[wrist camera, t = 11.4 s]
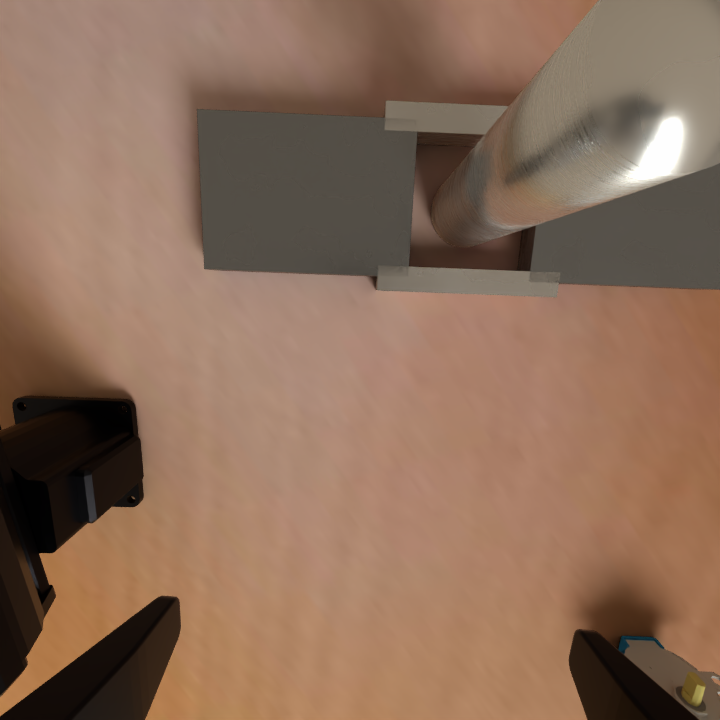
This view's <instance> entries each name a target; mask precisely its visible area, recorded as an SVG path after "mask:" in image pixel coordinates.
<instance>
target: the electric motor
mask: <svg viewBox="0 0 720 720" xmlns="http://www.w3.org/2000/svg"><path fill="white" fill-rule="evenodd" d="M618 650H619V651H620V652H621V653H623V654H624V655H625V656H626V657H627V658H628V659H630V660H631V661H632V662H633V663H634V664H635V665H636V666H638V667H639V668H640V669H641V670H642V671H643V672H645V673H646V674H647V675H648V676H649V677H650V678H652V679H653V680H654V681H655V682H656V683H657V684H659V685H660V686H661V687H662V688H663V689H664V690H665V691H667V692H668V693H669V694H670V695H671V696H672V697H674V698H675V699H676V700H677V701H678V702H679V703H681V704H682V705H683V706H684V707H685V708H686V709H688V710H689V711H690V712H691V713H692V714H693V715H694V716H696V717H697V718H698V719H699V720H720V696H719V695H718V694H720V686H719V685H718V684H716V683H714V681H713V680H712V678H716V679H718V680H720V676H719V675H717V674H716V673H714V672H700V671H698V670H697V669H696V668H695V667H693V666H692V665H691V664H689V663H688V662H687V661H685V660H684V659H683V658H681V657H679V656H678V655H676V654H674V653H671V652H670V651H668V650H665V649H664V647H663V646H662V645H661V644H660V642H659V641H658V640H657V639H656V638H653V637H641V636H622V637H621V640H620V644H619V648H618Z"/></svg>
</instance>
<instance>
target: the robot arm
mask: <svg viewBox="0 0 720 720" xmlns="http://www.w3.org/2000/svg"><path fill="white" fill-rule="evenodd" d="M24 404H26V407H25V406H24ZM122 406H125V407H126V408H127V412H126V411H124V410H123V408H122ZM13 412H14V418H15V424H16V425H14V426H11V427H9V428H6V429H4V430H1V426H0V430H1V431H0V697H1V696H2V695H3V694H4V693H5V692H6V690H7V689H8V688H9V687H10V686H11V685H12V684H13V683H14V682H15V680H16V679H17V678H18V677H19V676H20V675H21V673H22V672H23V671H24V670H25V668H26V666H27V664H28V661H27V658H26V656H27V655H28V653H29V652H30V650H31V648H32V647H33V645H34V643H35V641H36V640H37V638H38V636H39V634H40V633H41V631H42V628H43V620H44V617H45V615H46V614H47V612H48V610H49V608H50V606H51V605H52V603H53V601H54V599H55V598H56V594H55V591H54V588H53V586H52V585H49V583H48V580H47V577H46V574H45V571H44V568H43V565H42V562H41V558H40V555H39V553H54V552H55V551H56V550H57V549H59V548H60V547H61V546H62V545H63V544H64V543H65V542H66V541H68V540H69V539H70V538H71V537H72V536H73V535H74V534H76V533H77V532H78V531H79V530H80V529H81V528H82V527H83V526H85V525H86V524H87V523H94V522H95V521H96V520H97V519H98V518H100V517H101V516H102V515H103V514H104V513H105V512H106V511H107V510H108V509H110V508H111V507H135V506H137V505H138V504H139V503H140V502H141V501H142V500H143V497H144V494H143V483H142V479H143V477H144V475H143V463H142V452H141V441H140V438H139V436H138V427H137V416H136V407H135V404H134V403H133V402H132V401H131V400H128V399H110V398H80V397H51V396H23V397H20V398H17V399H15V400H14V402H13ZM131 496H134V497H135V499H136V500H135V499H133V498H132V497H131ZM180 629H181V620H180V602H179V599H178V598H177V597H172V596H160V597H158V598H156V599H155V600H154V601H152V602H151V603H150V604H148V605H147V606H146V607H144V608H143V609H142V610H140V611H139V612H138V613H136V614H135V615H134V616H132V617H131V618H130V619H128V620H127V621H126V622H125V623H123V624H122V625H121V626H119V627H118V628H117V629H115V630H114V631H113V632H111V633H110V634H109V635H107V636H106V637H105V638H103V639H102V640H101V641H99V642H98V643H97V644H95V645H94V646H93V647H91V648H90V649H89V650H88V651H86V652H85V653H84V654H82V655H81V656H80V657H78V658H77V659H76V660H74V661H73V662H72V663H70V664H69V665H68V666H66V667H65V668H64V669H62V670H61V671H60V672H58V673H57V674H56V675H54V676H53V677H52V678H51V679H49V680H48V681H47V682H45V683H44V684H43V685H41V686H40V687H39V688H37V689H36V690H35V691H33V692H32V693H31V694H29V695H28V696H27V697H25V698H24V699H23V700H21V701H20V702H19V703H17V704H16V705H15V706H14V707H12V708H11V709H10V710H8V711H7V712H6V713H4V714H3V715H2V716H0V720H145V718H146V716H147V714H148V711H149V709H150V707H151V704H152V702H153V699H154V697H155V694H156V692H157V689H158V687H159V684H160V682H161V680H162V677H163V675H164V672H165V670H166V667H167V665H168V662H169V660H170V657H171V655H172V652H173V650H174V647H175V645H176V642H177V640H178V637H179V634H180ZM569 667H570V671H571V674H572V677H573V680H574V682H575V685H576V688H577V691H578V694H579V697H580V700H581V702H582V705H583V708H584V711H585V714H586V717H587V720H699V719H698V718H697V717H696V716H694V715H693V714H692V713H691V712H690V711H689V710H688V709H686V708H685V707H684V706H683V705H682V704H681V703H679V702H678V701H677V700H676V699H675V698H674V697H672V696H671V695H670V694H669V693H668V692H667V691H665V690H664V689H663V688H662V687H661V686H660V685H659V684H657V683H656V682H655V681H654V680H653V679H652V678H650V677H649V676H648V675H647V674H646V673H645V672H643V671H642V670H641V669H640V668H639V667H638V666H636V665H635V664H634V663H633V662H632V661H631V660H630V659H628V658H627V657H626V656H625V655H624V654H623V653H621V652H620V651H619V650H618V649H617V648H616V647H614V646H613V645H612V644H611V643H610V642H609V641H608V640H606V639H605V638H604V637H603V636H602V635H601V634H599V633H598V632H596V631H593V630H583V629H578V630H576V631H575V633H574V637H573V641H572V646H571V650H570V655H569Z"/></svg>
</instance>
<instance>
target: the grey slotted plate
mask: <svg viewBox="0 0 720 720" xmlns="http://www.w3.org/2000/svg"><path fill="white" fill-rule="evenodd" d="M508 107H509V106H493V105H471V104H450V103H429V102H407V101H386V104H385V110H384V118H379V117H357V116H335V115H313V114H291V113H270V112H248V111H226V110H204V109H197V121H198V143H199V165H200V186H201V208H202V230H203V251H204V269H209V270H223V271H248V272H273V273H299V274H324V275H350V276H375V277H376V290H382V291H408V292H434V293H459V294H485V295H511V296H537V297H557V292H558V285H559V284H578V285H603V286H629V287H654V288H679V289H716V290H720V163H719V164H717V165H715V166H712V167H709V168H706V169H703V170H700V171H697V172H694V173H691V174H688V175H685V176H682V177H679V178H676V179H673V180H670V181H667V182H664V183H661V184H658V185H655V186H652V187H649V188H646V189H643V190H640V191H637V192H634V193H631V194H628V195H625V196H622V197H619V198H616V199H613V200H610V201H607V202H604V203H601V204H598V205H595V206H592V207H589V208H586V209H583V210H580V211H577V212H574V213H571V214H568V215H565V216H562V217H559V218H556V219H553V220H550V221H547V222H544V223H541V224H538V225H535V226H532V227H529V228H526V229H523V230H522V236H521V245H520V253H519V261H518V269H517V271H507V270H482V269H456V268H431V267H409V256H410V240H411V224H412V209H413V193H414V177H415V161H416V145H417V144H425V145H448V146H470V147H475V146H476V144H477V143H478V142H479V141H480V140H481V138H482V137H483V136H484V135H485V134H486V133H487V131H488V130H489V129H490V128H491V127H492V125H493V124H494V123H495V122H496V121H497V120H498V118H499V117H500V116H501V115H502V114H503V113H504V111H505V110H506V109H507V108H508Z"/></svg>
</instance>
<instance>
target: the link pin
mask: <svg viewBox="0 0 720 720" xmlns="http://www.w3.org/2000/svg"><path fill="white" fill-rule="evenodd" d="M719 163H720V0H599V1H598V2H597V3H596V4H595V5H594V6H593V8H592V9H591V10H590V11H589V12H588V14H587V15H586V16H585V17H584V18H583V19H582V21H581V22H580V23H579V24H578V25H577V26H576V28H575V29H574V30H573V31H572V32H571V34H570V35H569V36H568V37H567V38H566V39H565V41H564V42H563V43H562V44H561V45H560V47H559V48H558V49H557V50H556V51H555V52H554V54H553V55H552V56H551V57H550V58H549V59H548V61H547V62H546V63H545V64H544V65H543V67H542V68H541V69H540V70H539V71H538V72H537V74H536V75H535V76H534V77H533V78H532V80H531V81H530V82H529V83H528V84H527V85H526V87H525V88H524V89H523V90H522V91H521V92H520V94H519V95H518V96H517V97H516V98H515V100H514V101H513V102H512V103H511V104H510V105H509V107H508V108H507V109H506V110H505V111H504V113H503V114H502V115H501V116H500V117H499V118H498V120H497V121H496V122H495V123H494V124H493V125H492V127H491V128H490V129H489V130H488V131H487V133H486V134H485V135H484V136H483V137H482V138H481V140H480V141H479V142H478V143H477V144H476V146H475V147H474V148H473V149H472V150H471V151H470V153H469V154H468V155H467V156H466V157H465V158H464V160H463V161H462V162H461V163H460V164H459V166H458V167H457V168H456V169H455V170H454V171H453V173H452V174H451V175H450V176H449V177H448V179H447V180H446V181H445V182H444V183H443V184H442V186H441V187H440V188H439V189H438V191H437V192H436V194H435V196H434V199H433V202H432V206H431V219H432V223H433V226H434V229H435V231H436V232H437V234H438V235H439V237H440V238H441V239H442V240H444V241H445V242H446V243H448V244H450V245H452V246H455V247H461V248H467V247H473V246H476V245H479V244H482V243H485V242H488V241H491V240H494V239H497V238H500V237H502V236H505V235H508V234H511V233H514V232H517V231H520V230H523V229H526V228H529V227H532V226H535V225H538V224H541V223H544V222H547V221H550V220H553V219H556V218H559V217H562V216H565V215H568V214H571V213H574V212H577V211H580V210H583V209H586V208H589V207H592V206H595V205H598V204H601V203H604V202H607V201H610V200H613V199H616V198H619V197H622V196H625V195H628V194H631V193H634V192H637V191H640V190H643V189H646V188H649V187H652V186H655V185H658V184H661V183H664V182H667V181H670V180H673V179H676V178H679V177H682V176H685V175H688V174H691V173H694V172H697V171H700V170H703V169H706V168H709V167H712V166H715V165H717V164H719Z"/></svg>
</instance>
